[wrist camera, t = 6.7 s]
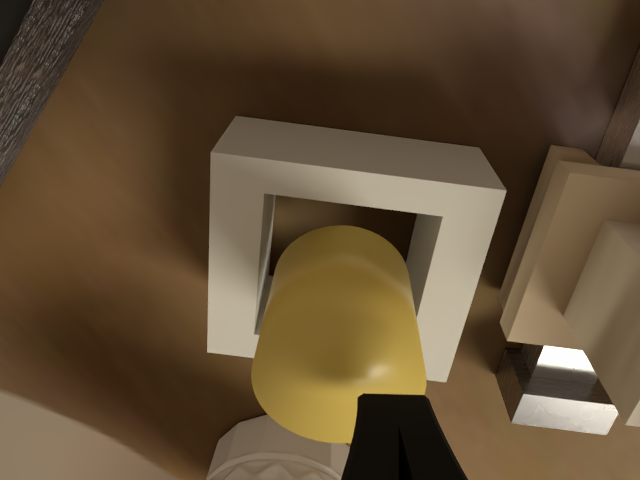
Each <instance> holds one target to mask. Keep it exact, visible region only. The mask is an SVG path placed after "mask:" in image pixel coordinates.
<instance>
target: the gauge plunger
mask: <svg viewBox="0 0 640 480" xmlns="http://www.w3.org/2000/svg"><path fill="white" fill-rule="evenodd" d="M426 378H427V377H426V370H425V364H424V359H423V353H422V347H421V341H420V336H419V330H418V324H417V318H416V313H415V307H414V301H413V296H412V290H411V284H410V278H409V273H408V269H407V266H406V263H405V261H404V259H403V257H402V256H401V255H400V253H399V252H398V250H397V249H396V248H395V247H394V246H393V245H392V244H391V243H390V242H388V241H387V240H386V239H385V238H383V237H381V236H380V235H378V234H376V233H374V232H372V231H369V230H366V229H363V228H360V227H354V226H346V225H335V226H327V227H322V228H318V229H315V230H312V231H310V232H308V233H305V234H304V235H302V236H300V237H299V238H297V239H296V240H295V241H293V242H292V243H291V244H290V245H289V246H288V247H287V248H286V249H285V251H284V252H283V253H282V255H281V257H280V258H279V260H278V262H277V265H276V268H275V272H274V276H273V280H272V285H271V289H270V293H269V297H268V301H267V306H266V310H265V314H264V318H263V322H262V326H261V331H260V335H259V339H258V343H257V347H256V352H255V356H254V360H253V364H252V371H251V381H252V387H253V390H254V393H255V396H256V398H257V400H258V402H259V404H260V405H261V407H262V408H263V409H264V411H265V412H266V413H267V414H268V415H269V416H270V417H271V418H272V419H273V420H274V421H276V422H277V423H278V424H279V425H281V426H282V427H284V428H286V429H287V430H289V431H291V432H293V433H295V434H297V435H300V436H303V437H305V438H308V439H312V440H316V441H321V442H327V443H351V442H352V438H353V433H354V428H355V423H356V416H357V399H358V397H359V396H360V395H362V394H363V393H366V394H406V395H424V394H425V390H426Z"/></svg>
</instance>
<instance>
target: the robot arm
mask: <svg viewBox="0 0 640 480" xmlns="http://www.w3.org/2000/svg"><path fill="white" fill-rule="evenodd" d="M341 480H468V479H467V477H466V475H465V474H464V472H463V470H462V468H461V466H460V465H459V463H458V461H457V459H456V457H455V455H454V453H453V451H452V449H451V447H450V445H449V444H448V442H447V440H446V438H445V436H444V433H443V431H442V429H441V427H440V425H439V423H438V421H437V418H436V416H435V414H434V411H433V409H432V406H431V404H430V401H429V399H428V398H427V397H426V396H425V395H406V394H366V393H363V394H362V395H360V396H359V397H358V399H357V416H356V423H355V428H354V433H353V438H352V442H351V446H350V450H349V454H348V457H347V461H346V464H345V467H344V471H343V474H342V477H341Z"/></svg>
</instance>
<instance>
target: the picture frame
mask: <svg viewBox="0 0 640 480" xmlns="http://www.w3.org/2000/svg"><path fill="white" fill-rule="evenodd" d="M103 1H104V0H0V187H1V185H2V183H3V181H4V179H5V178H6V176H7V174H8V172H9V170H10V169H11V167H12V165H13V163H14V161H15V160H16V158H17V156H18V154H19V152H20V151H21V149H22V147H23V145H24V143H25V142H26V140H27V138H28V136H29V134H30V133H31V131H32V129H33V127H34V125H35V124H36V122H37V120H38V118H39V116H40V115H41V113H42V111H43V109H44V107H45V105H46V104H47V102H48V100H49V98H50V96H51V95H52V93H53V91H54V89H55V87H56V86H57V84H58V82H59V80H60V78H61V77H62V75H63V73H64V71H65V69H66V68H67V66H68V64H69V62H70V60H71V59H72V57H73V55H74V53H75V51H76V50H77V48H78V46H79V44H80V42H81V41H82V39H83V37H84V35H85V33H86V31H87V30H88V28H89V26H90V24H91V22H92V21H93V19H94V17H95V15H96V13H97V12H98V10H99V8H100V6H101V4H102V3H103Z"/></svg>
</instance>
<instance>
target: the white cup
mask: <svg viewBox="0 0 640 480" xmlns="http://www.w3.org/2000/svg"><path fill="white" fill-rule="evenodd" d="M349 450H350V447H349V446H348V445H347V444H346V443H327V442H321V441H316V440H312V439H308V438H305V437H303V436H300V435H297V434H295V433H293V432H291V431H289V430H287V429H286V428H284V427H282V426H281V425H279V424H278V423H277V422H276V421H274V420H273V419H272V418H271V417H270V416H269V415H268V414H267V415H263V416H260V417H256V418H253V419H249V420H245V421H242V422H239V423H237V424H236V425H235V426H234V427H233V428H232V429H231V430H229V431H228V432H227V433H226V434H225V435H224V436H223V437H221V438H220V439H219V441H218V443H217V446H216V449H215V453H214V456H213V459H212V462H211V465H210V468H209V472H208V475H207V478H206V480H341V477H342V474H343V471H344V467H345V464H346V461H347V457H348V454H349Z"/></svg>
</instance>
